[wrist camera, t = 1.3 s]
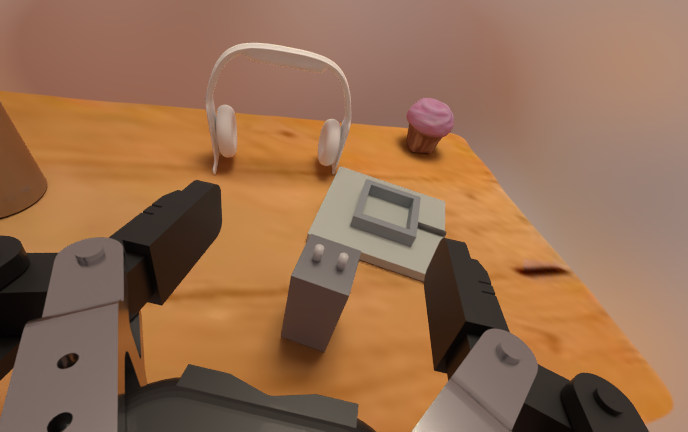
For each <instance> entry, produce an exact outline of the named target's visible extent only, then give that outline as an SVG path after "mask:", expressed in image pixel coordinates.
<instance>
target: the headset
mask: <svg viewBox="0 0 688 432" xmlns="http://www.w3.org/2000/svg"><path fill="white" fill-rule="evenodd" d="M240 54H245V56H246V57H247V58H249V59H250V60H252V61H254V62H258V63H265V64H272V65H278V66H285V67H290V68H295V69H300V70H305V71H309V72H314V73H321V72H324V71H325V70H326V69H327V68H328V69H330V70H331V71H332V72H333V73H334V74H335V75H336V76H337V77H338V79H339V80H340V83H341V85H342V88H343V92H344V99H345V117H344V119H343V122H342V125H341V128H340V124H339V122H338V121H337V120H335V119H328V120H327V121H326V122H325V123H324V125H323V127H322V130H321V134H320V138H319V144H318V160H319V162H320V164H321V165H323V166H329V165H331V164H332V175H334V174H335V171H336V169H337V166H338V163H339V160H340V157H341V154H342V151H343V148H344V145H345V142H346V139H347V136H348V133H349V129H350V123H351V97H350V90H349V86H348V82H347V79H346V77H345V75H344V73H343V72H342V70H341V69H340V68H339V67H338V65H336V64H335V63H334V62H333V61H331V60H329V59H328V58H326V57H323V56H321V55H318V54H316V53H312V52H309V51H305V50H301V49H296V48H290V47H285V46H280V45H273V44H265V43H244V44H239V45H236V46H233V47H231V48H229V49H228V50H226V51H225V52H224V53H223V54H222V55H221V56H220V58H219V59H218V60H217V62H216V64H215V66H214V68H213V71H212V73H211V76H210V80H209V83H208V88H207V92H206V98H205V103H206V111H207V118H208V125H209V130H210V136H211V141H212V147H213V153H214V166H213V174H214V175H216V171H217V166H218V158H219V150H220V153H221V154H222V155H223V156H224V157H227V158H229V157H233V156H234V155H235V154H236V150H237V126H236V117H235V113H234V110H233V109H232V107H230V106H228V105H222V106H220V107H219V108H218V110H217V116H216V114H215V107H214V101H213V94H214V90H215V86H216V82H217V79H218V77H219V75H220V73H221V71H222V69H223V68H224V66H225V65H226V64H227V63H228V61H230V60H231V59H232V58H234V57H236V56H238V55H240Z"/></svg>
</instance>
